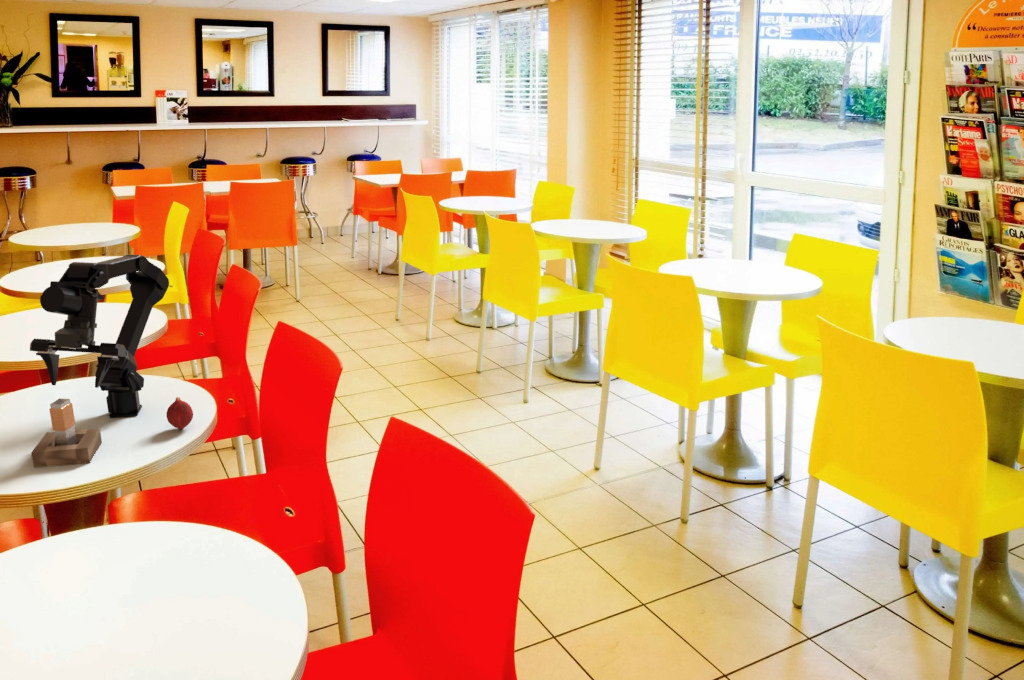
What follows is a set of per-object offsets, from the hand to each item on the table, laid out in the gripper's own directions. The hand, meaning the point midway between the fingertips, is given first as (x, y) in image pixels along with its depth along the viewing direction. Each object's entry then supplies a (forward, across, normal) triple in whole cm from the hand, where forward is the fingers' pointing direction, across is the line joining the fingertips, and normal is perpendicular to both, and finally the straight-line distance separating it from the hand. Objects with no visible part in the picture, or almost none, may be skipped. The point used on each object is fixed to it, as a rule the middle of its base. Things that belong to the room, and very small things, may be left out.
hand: (75, 386), depth 191 cm
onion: (+9, +22, +8) cm, 25 cm away
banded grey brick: (+15, +1, -4) cm, 16 cm away
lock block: (+15, +1, -4) cm, 15 cm away
